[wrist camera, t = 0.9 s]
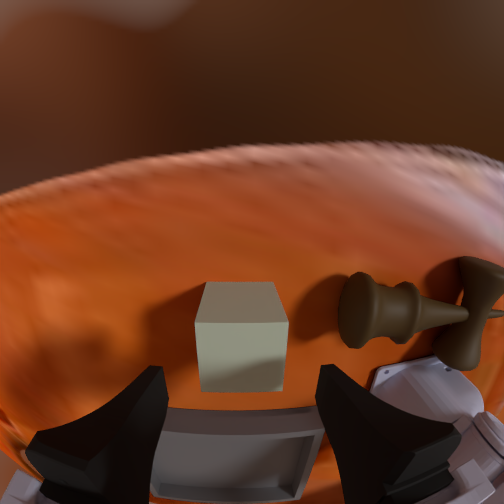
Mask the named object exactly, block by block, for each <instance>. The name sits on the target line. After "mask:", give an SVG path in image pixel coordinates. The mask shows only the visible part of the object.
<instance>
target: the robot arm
mask: <svg viewBox="0 0 504 504" xmlns="http://www.w3.org/2000/svg"><path fill="white" fill-rule="evenodd" d="M386 370H387V371H386ZM385 371H386V372H385ZM315 399H316V404H317V408H318V412H319V415H320V418H321V421H322V423H323V426H324V428H325V431H326V433H327V436H328V438H329V441H330V443H331V446H332V448H333V451H334V454H335V457H336V461H337V465H338V469H339V474H340V478H341V483H342V488H343V494H344V500H345V504H504V425H503V424H502V423H501V422H500V421H499V420H498V419H497V418H496V417H495V416H493V415H492V414H491V413H489V412H487V411H485V412H483V411H484V404H483V399H482V396H481V394H480V392H479V390H478V389H477V388H476V387H475V386H474V385H473V384H472V383H471V382H470V381H469V380H468V379H467V378H466V377H465V376H464V375H463V374H462V373H461V372H460V371H459V370H455V369H452V368H450V367H448V366H446V365H445V364H443V363H442V362H441V361H440V360H439V359H438V358H437V357H436V355H432V356H428V357H424V358H420V359H416V360H412V361H407V362H403V363H398V364H393V365H388V366H383V367H380V368H378V369H377V371H376V373H375V377H374V380H373V383H372V386H371V389H370V392H369V391H367V390H366V389H364V388H363V387H362V386H360V385H359V384H358V383H356V382H355V381H354V380H353V379H351V378H350V377H349V376H348V375H346V374H345V373H344V372H343V371H342V370H340V369H339V368H338V367H337V366H335V365H334V364H328V365H321V368H320V374H319V379H318V384H317V389H316V394H315ZM168 401H169V397H168V392H167V387H166V382H165V377H164V372H163V367H162V366H151V365H150V366H149V367H148V368H147V369H145V370H144V371H143V372H142V373H141V374H140V375H139V376H138V377H137V378H136V379H135V380H134V381H133V382H132V383H131V384H130V385H128V386H127V387H126V388H125V389H124V390H123V391H122V392H120V393H119V394H118V395H117V396H115V397H114V398H113V399H112V400H110V401H109V402H108V403H106V404H105V405H103V406H102V407H100V408H98V409H97V410H95V411H93V412H92V413H90V414H88V415H86V416H84V417H82V418H80V419H78V420H75V421H73V422H70V423H68V424H65V425H62V426H59V427H55V428H51V429H47V430H42V431H37V433H36V434H35V436H34V437H33V439H32V441H31V442H30V444H29V445H28V447H27V449H26V450H25V454H26V456H27V458H28V460H29V461H30V463H31V464H32V465H33V466H34V467H35V468H36V470H37V471H38V472H39V473H40V474H41V475H42V476H43V477H44V478H45V479H44V481H43V483H41V482H40V481H39V480H37V479H36V478H34V477H32V476H30V475H28V474H26V473H25V472H23V471H21V470H20V469H17V470H16V472H15V474H14V476H13V478H12V479H11V481H10V483H9V485H8V487H7V489H6V491H5V493H4V495H3V497H2V499H1V501H0V504H149V493H150V483H151V474H152V467H153V460H154V456H155V451H156V448H157V445H158V441H159V438H160V435H161V432H162V428H163V425H164V422H165V418H166V414H167V408H168Z"/></svg>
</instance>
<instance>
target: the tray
mask: <svg viewBox="0 0 504 504" xmlns="http://www.w3.org/2000/svg"><path fill="white" fill-rule="evenodd" d="M324 432H325V428H324V426H323V423H322V421H321V418H320V415H319V412H318V408H317V406H311V407H301V408H290V409H276V410H254V411H215V410H193V409H179V408H167V414H166V418H165V422H164V425H163V428H162V432H161V435H160V438H159V441H158V445H157V448H156V451H155V456H154V460H153V467H152V474H151V483H150V491H151V493H152V495H153V496H154V497H159V498H165V499H172V500H180V501H189V502H200V503H218V504H253V503H271V502H282V501H291V500H299V499H300V498H301V496H302V493H303V491H304V488H305V486H306V483H307V481H308V478H309V475H310V473H311V470H312V467H313V465H314V462H315V459H316V456H317V453H318V450H319V447H320V444H321V441H322V438H323V435H324Z"/></svg>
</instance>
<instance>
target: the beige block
mask: <svg viewBox="0 0 504 504" xmlns="http://www.w3.org/2000/svg"><path fill="white" fill-rule="evenodd" d="M288 325H289V322H288V319H287V316H286V314H285V311H284V309H283V306H282V304H281V301H280V298H279V296H278V293H277V291H276V288H275V286H274V283H273V282H206V286H205V289H204V292H203V296H202V299H201V302H200V306H199V309H198V312H197V316H196V319H195V334H196V346H197V356H198V366H199V376H200V385H201V392H271V391H282V388H283V379H284V369H285V359H286V348H287V337H288Z"/></svg>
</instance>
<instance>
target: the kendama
mask: <svg viewBox="0 0 504 504" xmlns="http://www.w3.org/2000/svg"><path fill="white" fill-rule="evenodd" d="M459 267H460V272H461V276H462V281H463V288H464V294H463V298H462V302H461V306H458V305H453V304H448V303H444V302H440V301H437V300H433V299H430V298H427V297H424V296H422V295H420V293H419V290H418V289H417V288H416V287H415V285H414V284H413V283H410V282H406V281H404V282H402V283H399V284H397V285H396V286H395V287H386V286H381V285H378V284H376V283H375V281H374V280H373V279H372V277H371V276H370V275H368V274H366V273H363V272H357V273H355V274H353V275H351V276H350V278H349V279H348V281H347V282H346V284H345V286H344V288H343V291H342V294H341V297H340V303H339V308H338V327H339V333H340V336H341V339H342V340H343V342H344V343H345V344H346V345H347V346H348V347H349V348H355V349H359V348H361V347H363V346H364V345H365V344H366V343H367V342H368V341H369V340H370V339H372V338H375V337H381V336H384V337H389V338H390V339H391V340H392V341H394V342H395V343H396V344H405V343H406V342H407V341H408V340H409V339H410V338H411V337H413V335H414V334H415V333H417V332H419V331H422V330H425V329H429V328H433V327H437V326H441V325H446V324H451V323H452V324H451V325H450V326H449V327H448V328H447V329H446V330H445V331H444V332H443V333H442V334H441V335H440V336H439V337H438V338H437V339H436V340H435V341H434V343H433V344H432V349H433V353H434V354H435V355H436V357H437V358H438V359H439V360H440V361H441V362H442V363H443V364H445V365H446V366H448V367H450V368H452V369H455V370H459V371H471V370H473V369H475V368H476V367H477V366H478V364H479V362H480V356H481V336H482V332H483V328H484V326H485V323H486V321H487V319H489V318H498V317H502V316H504V311H502V310H494V309H492V307H493V305H494V304H495V302H496V301H497V300H498V299H499V298H500V297H501V296H502V295H503V294H504V268H503V267H501V266H499V265H496V264H494V263H491V262H489V261H486V260H482V259H479V258H476V257H469V256H463V257H460V258H459Z"/></svg>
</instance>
